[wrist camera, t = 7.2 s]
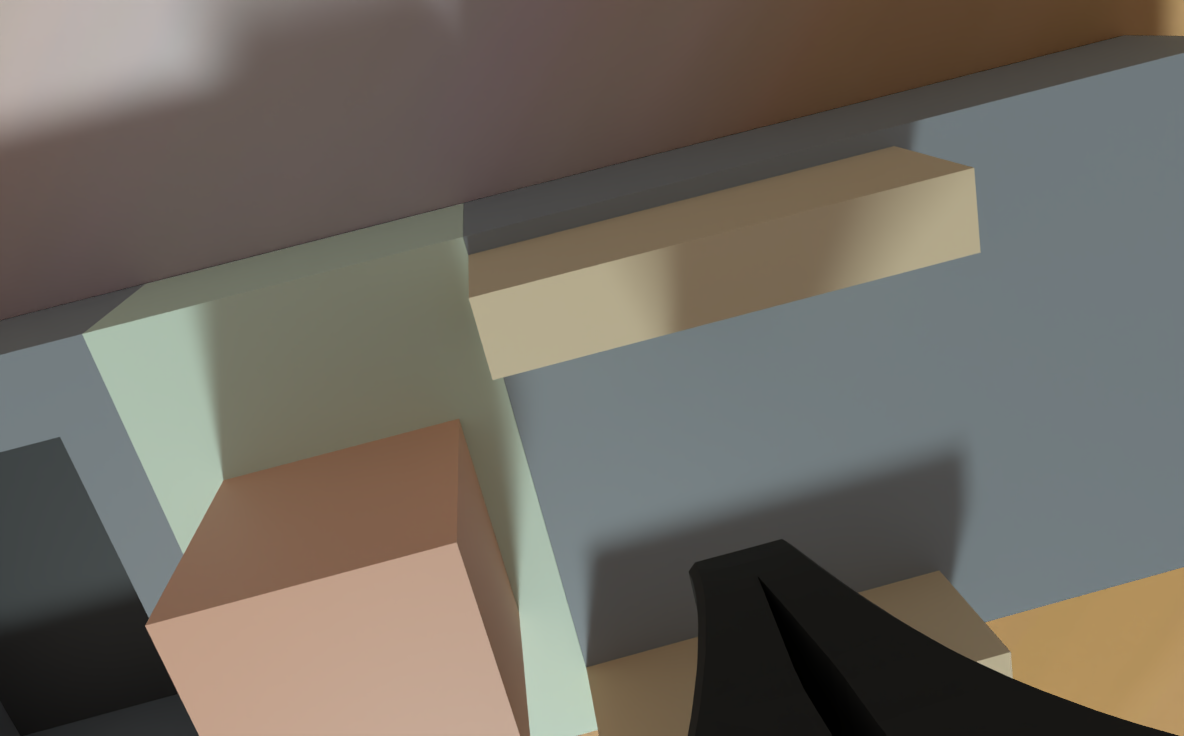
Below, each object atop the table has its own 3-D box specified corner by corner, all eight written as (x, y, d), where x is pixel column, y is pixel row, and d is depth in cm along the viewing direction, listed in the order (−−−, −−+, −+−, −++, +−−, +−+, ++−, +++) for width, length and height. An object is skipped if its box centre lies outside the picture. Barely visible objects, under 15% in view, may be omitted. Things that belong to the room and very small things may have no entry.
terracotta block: (459, 418, 15) (456, 542, 12) (519, 613, 17) (534, 777, 13) (223, 480, 15) (145, 625, 12) (304, 671, 17) (257, 855, 13)
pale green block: (463, 202, 17) (462, 236, 14) (584, 634, 21) (603, 727, 18) (145, 283, 17) (82, 334, 14) (323, 705, 21) (301, 811, 18)
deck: (1124, 35, 18) (1392, 37, 13) (1131, 484, 21) (1341, 628, 16) (-237, 380, 17) (-549, 536, 12) (12, 791, 20) (-142, 1048, 15)
